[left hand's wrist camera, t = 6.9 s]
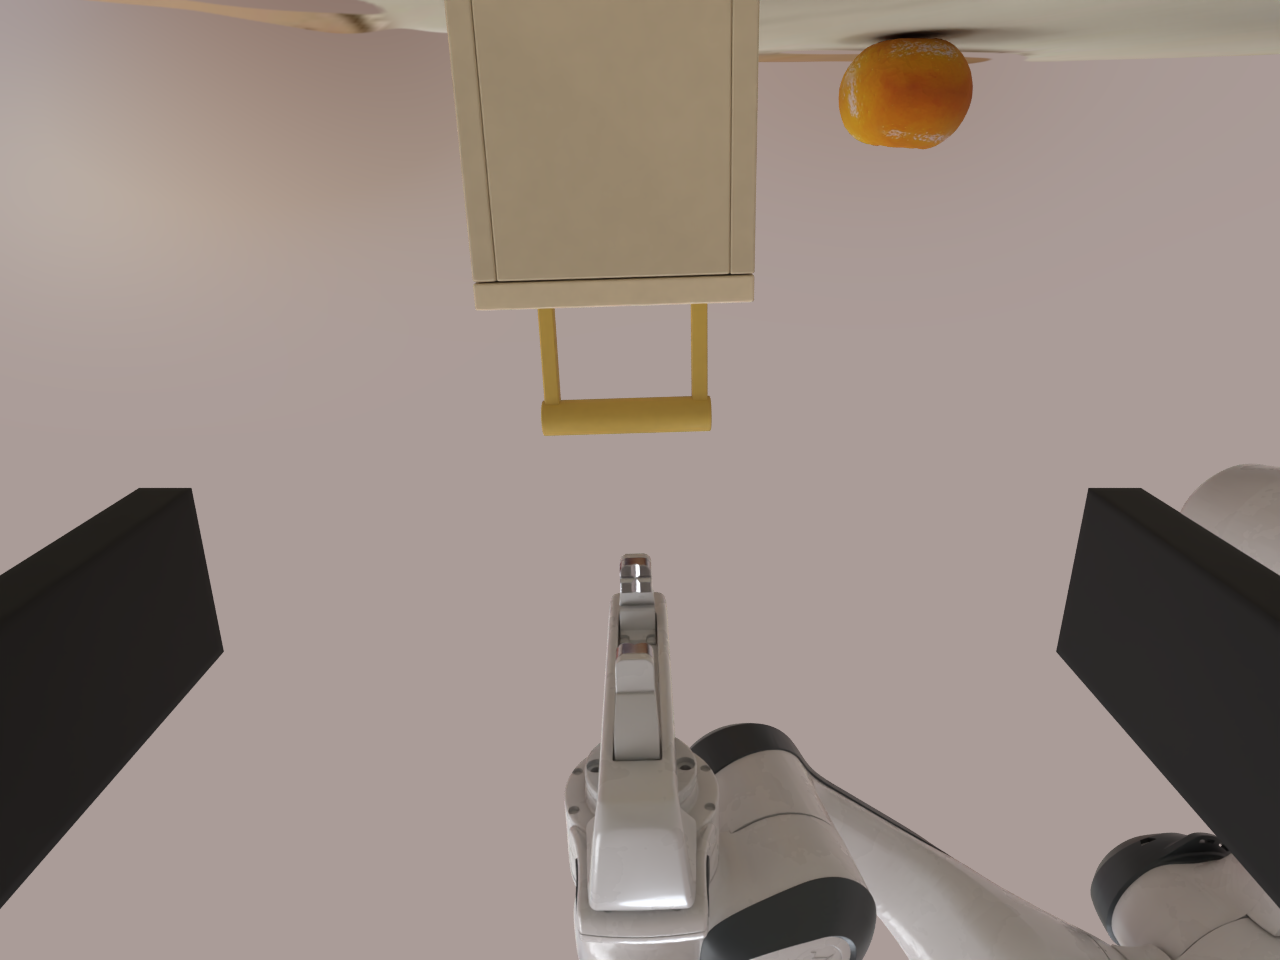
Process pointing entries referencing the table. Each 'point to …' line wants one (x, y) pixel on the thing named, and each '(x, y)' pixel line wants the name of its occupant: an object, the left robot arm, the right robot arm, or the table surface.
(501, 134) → the chest
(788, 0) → the table surface
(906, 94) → the fruit
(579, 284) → the lid
